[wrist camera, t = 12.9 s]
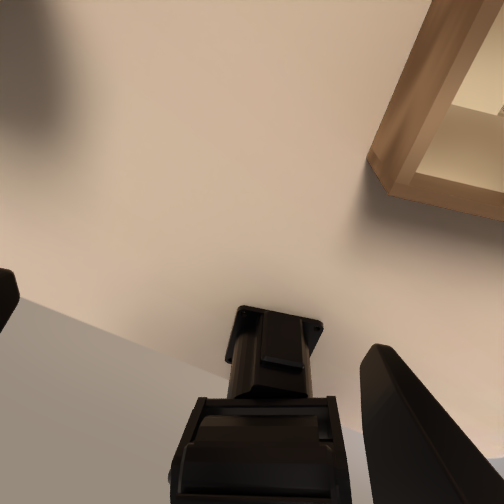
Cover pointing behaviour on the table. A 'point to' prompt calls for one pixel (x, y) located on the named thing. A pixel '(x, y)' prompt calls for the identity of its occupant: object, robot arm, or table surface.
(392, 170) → the walnut box
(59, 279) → the table surface
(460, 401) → the table surface
